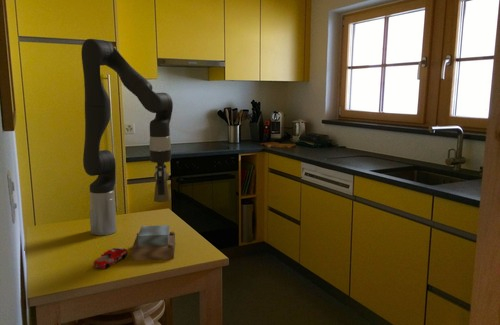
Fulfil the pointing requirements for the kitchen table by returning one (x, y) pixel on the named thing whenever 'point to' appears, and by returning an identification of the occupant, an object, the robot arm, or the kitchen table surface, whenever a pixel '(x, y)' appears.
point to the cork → (161, 197)
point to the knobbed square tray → (154, 243)
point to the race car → (110, 258)
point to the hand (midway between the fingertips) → (161, 194)
